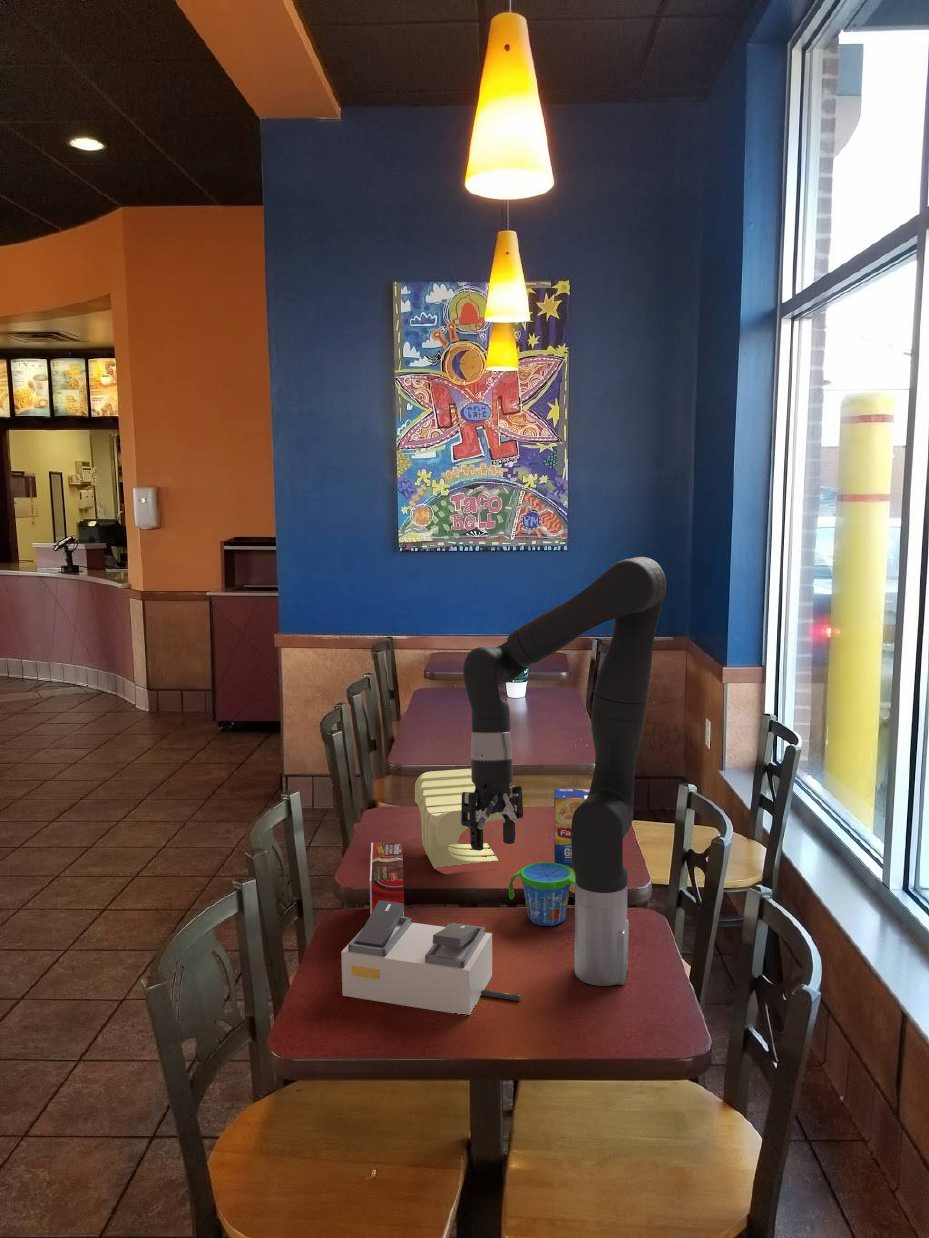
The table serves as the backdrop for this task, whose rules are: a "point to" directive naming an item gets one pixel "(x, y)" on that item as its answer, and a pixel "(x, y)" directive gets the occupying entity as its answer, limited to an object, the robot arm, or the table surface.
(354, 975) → the switch box
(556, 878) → the snack cup
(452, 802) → the slatted curved stool
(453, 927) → the rocker plain
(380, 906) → the rocker dark gray
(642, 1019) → the table surface
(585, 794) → the beverage box
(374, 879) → the ice cream box
